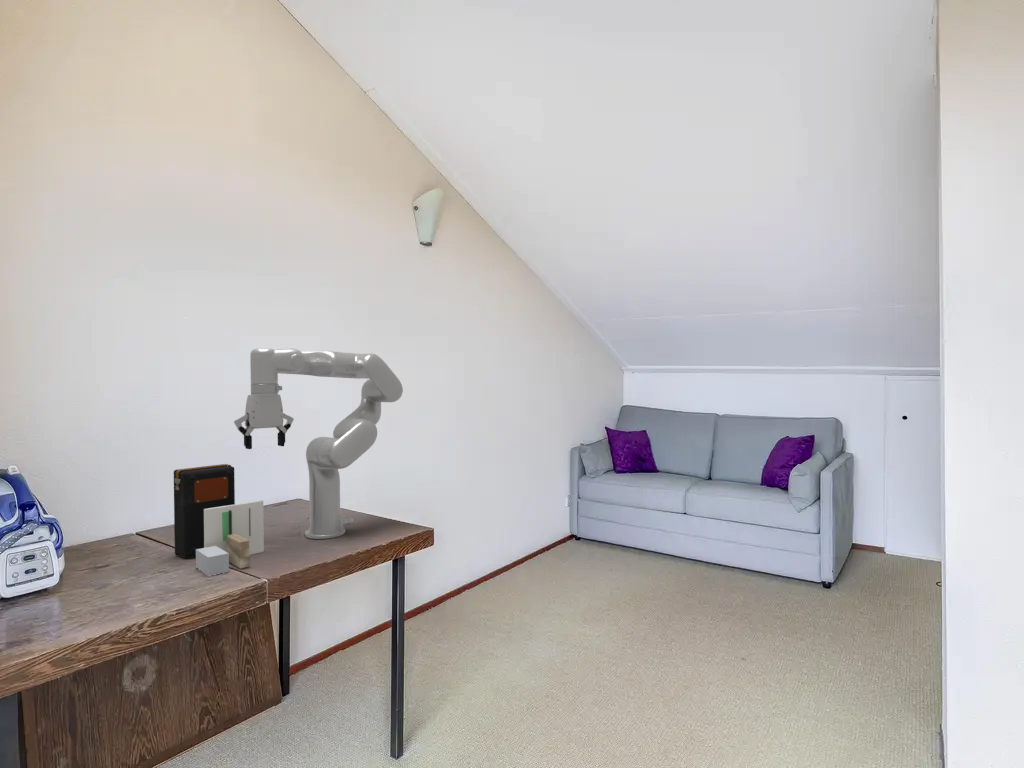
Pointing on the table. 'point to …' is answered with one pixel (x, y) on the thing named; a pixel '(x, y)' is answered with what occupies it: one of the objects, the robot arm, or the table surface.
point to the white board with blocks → (217, 527)
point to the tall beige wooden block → (237, 547)
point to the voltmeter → (198, 502)
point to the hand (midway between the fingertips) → (265, 447)
